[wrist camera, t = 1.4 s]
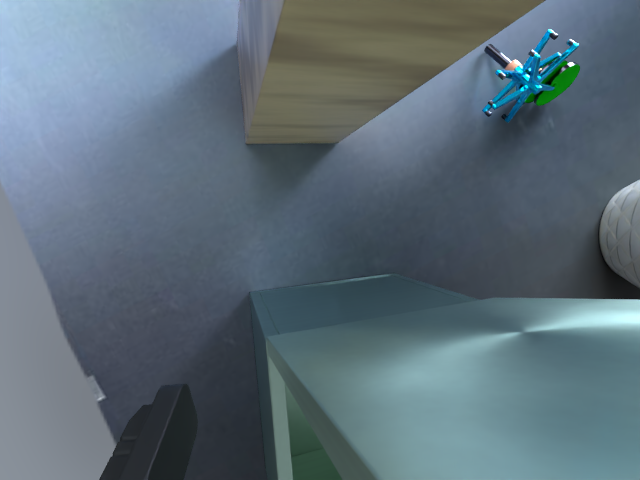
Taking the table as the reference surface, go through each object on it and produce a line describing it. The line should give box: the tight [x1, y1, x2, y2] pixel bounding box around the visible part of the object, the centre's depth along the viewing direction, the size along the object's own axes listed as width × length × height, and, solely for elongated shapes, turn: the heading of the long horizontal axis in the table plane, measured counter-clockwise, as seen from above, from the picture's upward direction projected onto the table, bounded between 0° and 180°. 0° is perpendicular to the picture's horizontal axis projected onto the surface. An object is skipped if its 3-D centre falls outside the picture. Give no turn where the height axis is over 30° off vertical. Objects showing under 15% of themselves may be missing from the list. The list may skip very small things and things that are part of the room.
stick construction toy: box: [482, 29, 580, 123], centre depth 32 cm, size 12×7×8 cm
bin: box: [249, 273, 478, 480], centre depth 24 cm, size 16×14×12 cm
